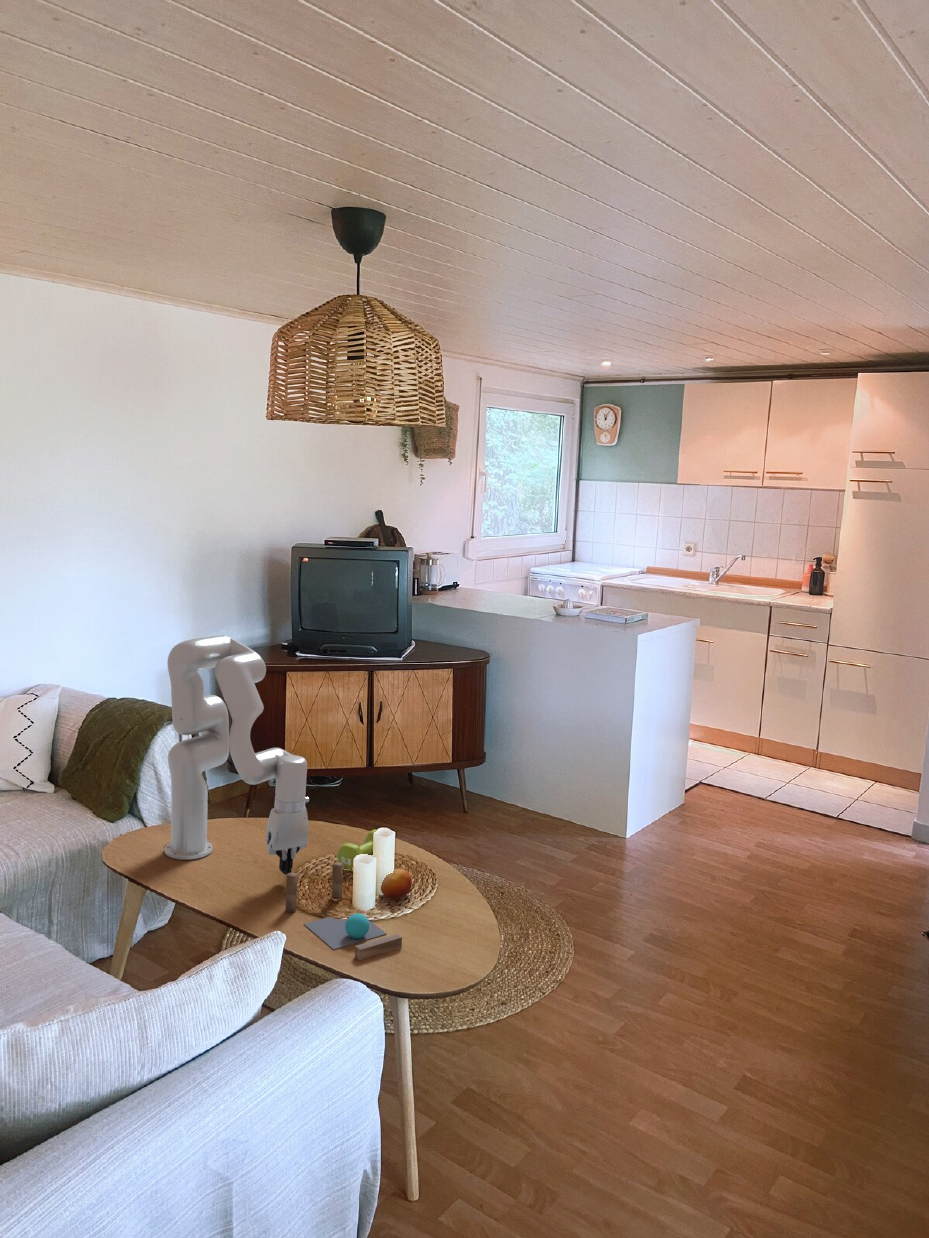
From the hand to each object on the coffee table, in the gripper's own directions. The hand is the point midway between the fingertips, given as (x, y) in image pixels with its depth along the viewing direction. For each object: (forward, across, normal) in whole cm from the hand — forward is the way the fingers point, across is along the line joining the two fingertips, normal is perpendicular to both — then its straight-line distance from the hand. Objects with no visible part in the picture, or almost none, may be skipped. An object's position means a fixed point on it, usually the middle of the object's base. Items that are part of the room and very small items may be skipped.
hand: (285, 871), depth 238 cm
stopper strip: (+2, -1, +43) cm, 43 cm away
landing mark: (+2, 0, +30) cm, 30 cm away
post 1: (+3, +6, +15) cm, 16 cm away
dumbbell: (+3, -24, -1) cm, 25 cm away
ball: (-1, -1, +34) cm, 35 cm away
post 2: (+2, -7, +15) cm, 16 cm away
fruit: (+2, -20, +21) cm, 29 cm away
